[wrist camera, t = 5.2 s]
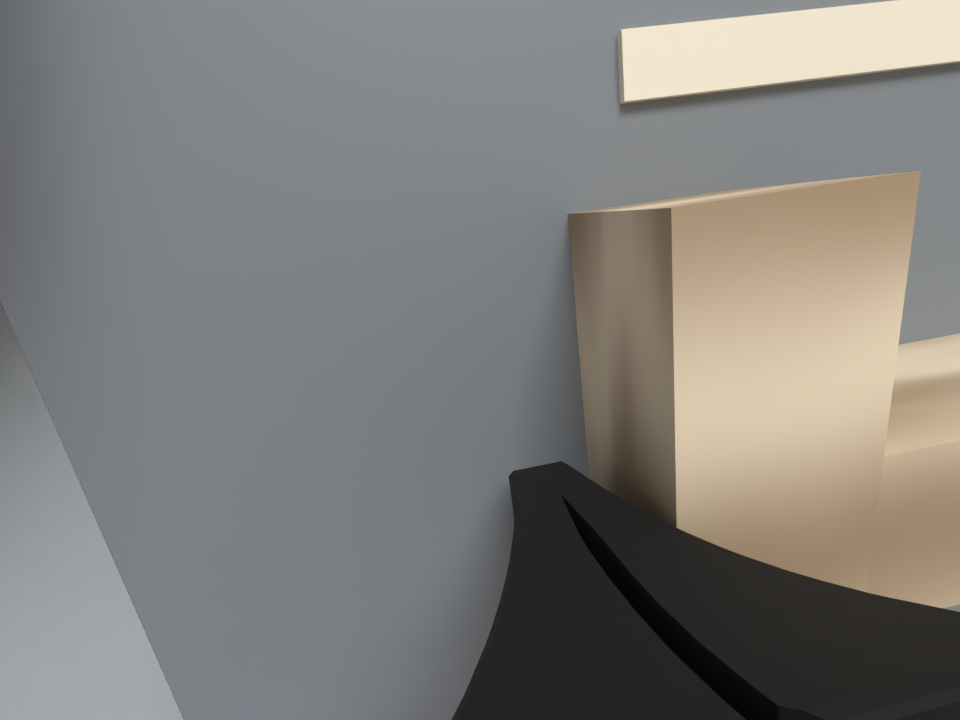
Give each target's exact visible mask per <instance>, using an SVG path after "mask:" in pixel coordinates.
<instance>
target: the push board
mask: <svg viewBox="0 0 960 720" xmlns="http://www.w3.org/2000/svg"><path fill="white" fill-rule="evenodd" d="M913 171H921V174H920V182H919V190H918V197H917V205H916V213H915V221H914V228H913V236H912V244H911V252H910V259H909V267H908V275H907V283H906V290H905V298H904V306H903V314H902V321H901V329H900V337H899V345H901V344H906V343H911V342H917V341H922V340H927V339H933V338H938V337H943V336H949V335H954V334H959V333H960V0H0V302H1V304H2V307H3V309H4V311H5V313H6V316H7V318H8V320H9V322H10V325H11V327H12V329H13V332H14V334H15V336H16V338H17V341H18V343H19V345H20V348H21V350H22V352H23V354H24V357H25V359H26V361H27V364H28V366H29V368H30V370H31V373H32V375H33V377H34V379H35V382H36V384H37V386H38V389H39V391H40V393H41V395H42V398H43V400H44V402H45V405H46V407H47V409H48V411H49V414H50V416H51V418H52V420H53V423H54V425H55V427H56V430H57V432H58V434H59V436H60V439H61V441H62V443H63V446H64V448H65V450H66V452H67V455H68V457H69V459H70V462H71V464H72V466H73V468H74V471H75V473H76V475H77V477H78V480H79V482H80V484H81V487H82V489H83V491H84V493H85V496H86V498H87V500H88V503H89V505H90V507H91V509H92V512H93V514H94V516H95V519H96V521H97V523H98V525H99V528H100V530H101V532H102V534H103V537H104V539H105V541H106V544H107V546H108V548H109V550H110V553H111V555H112V557H113V560H114V562H115V564H116V566H117V569H118V571H119V573H120V576H121V578H122V580H123V582H124V585H125V587H126V589H127V591H128V594H129V596H130V598H131V601H132V603H133V605H134V607H135V610H136V612H137V614H138V617H139V619H140V621H141V623H142V626H143V628H144V630H145V632H146V635H147V637H148V639H149V642H150V644H151V646H152V648H153V651H154V653H155V655H156V658H157V660H158V662H159V664H160V667H161V669H162V671H163V674H164V676H165V678H166V680H167V683H168V685H169V687H170V689H171V692H172V694H173V696H174V699H175V701H176V703H177V705H178V708H179V710H180V712H181V715H182V717H183V719H184V720H451V719H452V718H453V716H454V714H455V712H456V710H457V708H458V706H459V704H460V702H461V700H462V698H463V696H464V694H465V692H466V690H467V687H468V685H469V683H470V680H471V678H472V676H473V673H474V671H475V668H476V666H477V664H478V661H479V659H480V656H481V654H482V652H483V649H484V647H485V644H486V642H487V639H488V636H489V633H490V631H491V628H492V625H493V622H494V618H495V615H496V612H497V609H498V605H499V602H500V599H501V595H502V591H503V587H504V583H505V579H506V575H507V570H508V565H509V560H510V554H511V547H512V539H513V532H514V513H513V505H512V498H511V490H510V483H509V475H510V474H511V473H512V472H513V471H515V470H520V469H525V468H530V467H535V466H540V465H545V464H550V463H555V462H560V461H562V462H564V463H566V464H567V465H569V466H571V467H572V468H574V469H575V470H577V471H578V472H580V473H581V474H583V475H584V476H586V477H588V478H589V474H588V461H587V448H586V435H585V423H584V410H583V397H582V384H581V372H580V359H579V346H578V333H577V321H576V308H575V295H574V283H573V270H572V257H571V244H570V232H569V219H568V214H569V213H576V212H583V211H590V210H597V209H603V208H610V207H617V206H624V205H631V204H637V203H644V202H651V201H658V200H665V199H671V198H678V197H685V196H692V195H699V194H706V193H712V192H719V191H726V190H735V189H745V188H755V187H765V186H775V185H785V184H795V183H805V182H814V181H824V180H834V179H844V178H854V177H864V176H874V175H884V174H893V173H903V172H913ZM943 609H948V610H953V611H958V612H960V604H958V605H954V606H951V607H947V608H943Z"/></svg>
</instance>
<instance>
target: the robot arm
mask: <svg viewBox="0 0 960 720" xmlns="http://www.w3.org/2000/svg"><path fill="white" fill-rule="evenodd" d="M509 483H510V490H511V498H512V505H513V513H514V532H513V539H512V547H511V554H510V560H509V565H508V570H507V575H506V579H505V583H504V587H503V591H502V595H501V599H500V602H499V605H498V609H497V612H496V615H495V618H494V622H493V625H492V628H491V631H490V633H489V636H488V639H487V642H486V644H485V647H484V649H483V652H482V654H481V656H480V659H479V661H478V664H477V666H476V668H475V671H474V673H473V676H472V678H471V680H470V683H469V685H468V687H467V690H466V692H465V694H464V696H463V698H462V700H461V702H460V704H459V706H458V708H457V710H456V712H455V714H454V716H453V718H452V719H451V720H960V612H958V611H953V610H948V609H943V608H938V607H933V606H929V605H924V604H919V603H914V602H909V601H904V600H899V599H894V598H889V597H885V596H880V595H876V594H872V593H867V592H864V591H860V590H856V589H852V588H848V587H844V586H841V585H837V584H833V583H829V582H825V581H822V580H818V579H815V578H811V577H808V576H804V575H801V574H798V573H794V572H791V571H788V570H784V569H781V568H779V567H776V566H773V565H770V564H767V563H764V562H761V561H758V560H755V559H752V558H749V557H746V556H743V555H741V554H738V553H735V552H733V551H730V550H727V549H725V548H722V547H720V546H717V545H715V544H713V543H710V542H708V541H705V540H703V539H701V538H698V537H696V536H694V535H691V534H689V533H687V532H685V531H682V530H680V529H678V528H676V527H674V526H672V525H670V524H668V523H666V522H664V521H662V520H660V519H658V518H656V517H654V516H652V515H650V514H648V513H646V512H645V511H643V510H641V509H639V508H637V507H635V506H634V505H632V504H630V503H628V502H627V501H625V500H623V499H621V498H620V497H618V496H616V495H615V494H613V493H611V492H610V491H608V490H607V489H605V488H603V487H602V486H600V485H599V484H597V483H595V482H594V481H592V480H591V479H589V478H588V477H586V476H584V475H583V474H581V473H580V472H578V471H577V470H575V469H574V468H572V467H571V466H569V465H567V464H566V463H564V462H562V461H560V462H555V463H550V464H545V465H540V466H535V467H530V468H525V469H520V470H515V471H513V472H512V473H511V474H510V475H509Z"/></svg>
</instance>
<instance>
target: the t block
mask: <svg viewBox="0 0 960 720" xmlns="http://www.w3.org/2000/svg"><path fill="white" fill-rule="evenodd" d="M920 174H921V171H913V172H903V173H893V174H884V175H874V176H864V177H854V178H844V179H834V180H824V181H814V182H805V183H795V184H785V185H775V186H765V187H755V188H745V189H735V190H726V191H719V192H712V193H706V194H699V195H692V196H685V197H678V198H671V199H665V200H658V201H651V202H644V203H637V204H631V205H624V206H617V207H610V208H603V209H597V210H590V211H583V212H576V213H569V214H568V219H569V232H570V244H571V257H572V270H573V283H574V295H575V308H576V321H577V333H578V346H579V359H580V372H581V384H582V397H583V410H584V423H585V435H586V448H587V461H588V474H589V479H591V480H592V481H594V482H595V483H597V484H599V485H600V486H602V487H603V488H605V489H607V490H608V491H610V492H611V493H613V494H615V495H616V496H618V497H620V498H621V499H623V500H625V501H627V502H628V503H630V504H632V505H634V506H635V507H637V508H639V509H641V510H643V511H645V512H646V513H648V514H650V515H652V516H654V517H656V518H658V519H660V520H662V521H664V522H666V523H668V524H670V525H672V526H674V527H676V528H678V529H680V530H682V531H685V532H687V533H689V534H691V535H694V536H696V537H698V538H701V539H703V540H705V541H708V542H710V543H713V544H715V545H717V546H720V547H722V548H725V549H727V550H730V551H733V552H735V553H738V554H741V555H743V556H746V557H749V558H752V559H755V560H758V561H761V562H764V563H767V564H770V565H773V566H776V567H779V568H781V569H784V570H788V571H791V572H794V573H798V574H801V575H804V576H808V577H811V578H815V579H818V580H822V581H825V582H829V583H833V584H837V585H841V586H844V587H848V588H852V589H856V590H860V591H864V592H867V593H872V594H876V595H880V596H885V597H889V598H894V599H899V600H904V601H909V602H914V603H919V604H924V605H929V606H933V607H938V608H947V607H951V606H954V605H958V604H960V333H959V334H954V335H949V336H943V337H938V338H933V339H927V340H922V341H917V342H911V343H906V344H901V345H899V337H900V329H901V321H902V314H903V306H904V298H905V290H906V283H907V275H908V267H909V259H910V252H911V244H912V236H913V228H914V221H915V213H916V205H917V197H918V190H919V182H920Z"/></svg>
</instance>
